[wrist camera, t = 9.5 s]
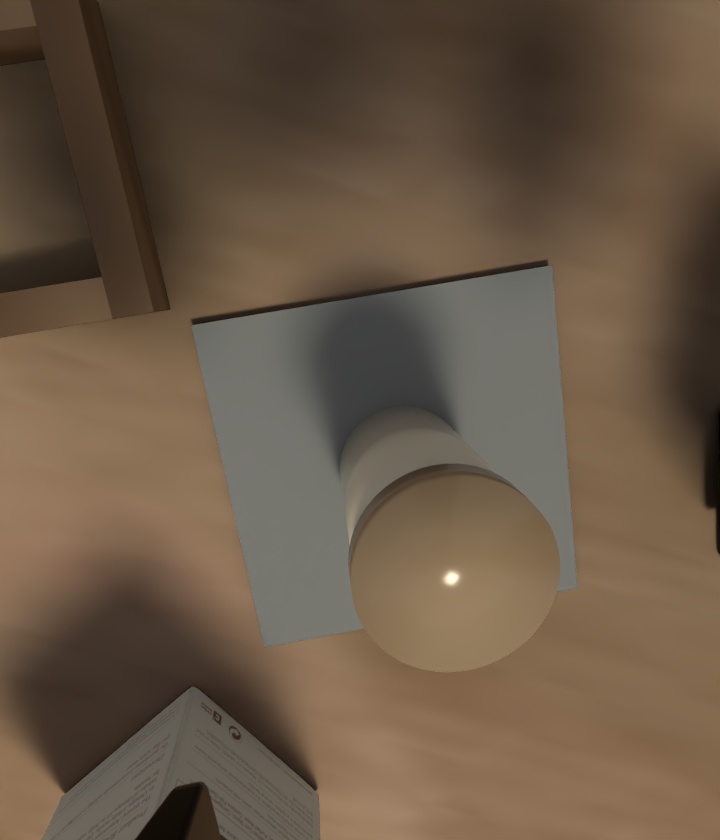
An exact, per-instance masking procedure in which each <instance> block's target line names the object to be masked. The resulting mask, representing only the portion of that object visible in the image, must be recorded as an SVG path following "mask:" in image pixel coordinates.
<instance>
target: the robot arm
mask: <svg viewBox="0 0 720 840" xmlns="http://www.w3.org/2000/svg"><path fill="white" fill-rule="evenodd" d="M719 444H720V414H719ZM719 524H720V463H719ZM134 840H220V832H219V826H218V822H217V819H216V815H215V811H214V808H213V804H212V800H211V797H210V793H209V790H208V787H207V786H206V784H205V783H204V782H200V781H199V782H194V783H189V784H184V785H180V786H177V787H175V788H174V789H173V790H172V791H171V792H170V793H169V794H168V796H167V797H166V798H165V800H164V801H163V802H162V804H161V805H160V806H159V808H158V809H157V810H156V812H155V813H154V814H153V816H152V817H151V818H150V820H149V821H148V822H147V824H146V825H145V826H144V827H143V829H142V830H141V831H140V833H139V834H138V835H137V837H136V838H135V839H134Z"/></svg>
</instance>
